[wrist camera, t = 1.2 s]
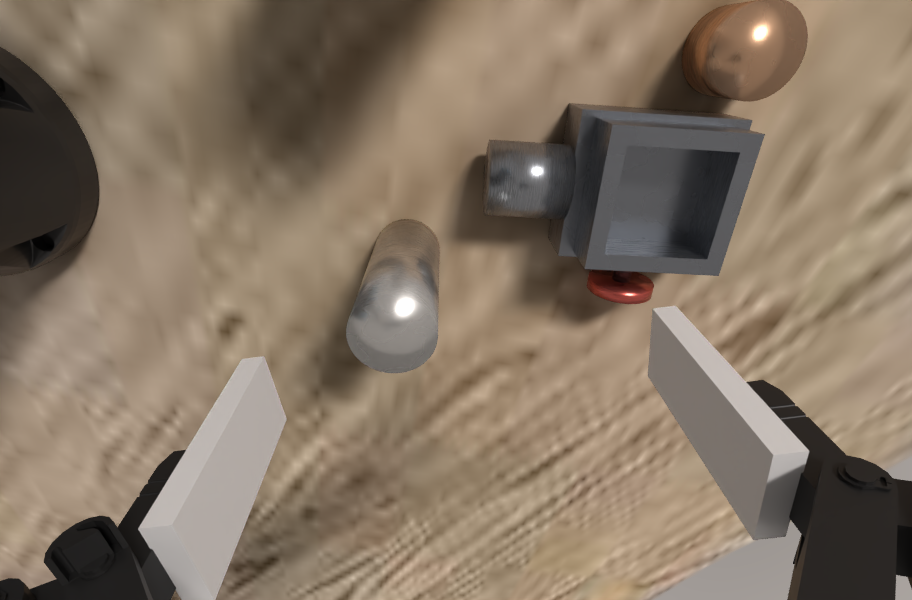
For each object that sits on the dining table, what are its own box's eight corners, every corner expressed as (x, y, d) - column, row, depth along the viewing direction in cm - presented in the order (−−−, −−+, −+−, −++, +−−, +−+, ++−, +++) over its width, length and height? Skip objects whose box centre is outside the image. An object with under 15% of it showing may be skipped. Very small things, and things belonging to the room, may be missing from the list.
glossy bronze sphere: (672, 92, 32) (701, 98, 28) (694, 1, 29) (729, -6, 26) (749, 98, 32) (787, 104, 28) (776, 7, 30) (822, 1, 26)
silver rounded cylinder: (375, 277, 37) (347, 371, 26) (375, 217, 35) (344, 292, 24) (438, 280, 37) (435, 374, 26) (441, 221, 35) (439, 296, 24)
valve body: (475, 270, 37) (481, 311, 31) (490, 98, 31) (501, 108, 26) (674, 280, 37) (717, 322, 31) (722, 113, 32) (784, 127, 26)
